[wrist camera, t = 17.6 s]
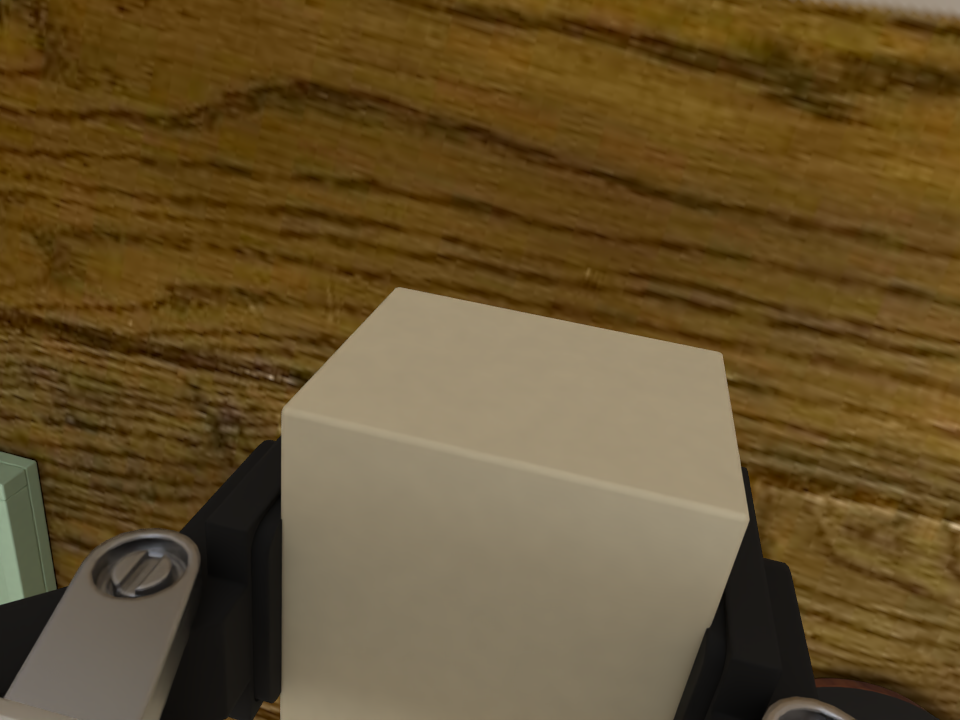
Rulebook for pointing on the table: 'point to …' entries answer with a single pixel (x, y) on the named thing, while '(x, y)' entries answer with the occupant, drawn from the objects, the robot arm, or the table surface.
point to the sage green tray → (23, 532)
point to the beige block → (502, 519)
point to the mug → (868, 701)
